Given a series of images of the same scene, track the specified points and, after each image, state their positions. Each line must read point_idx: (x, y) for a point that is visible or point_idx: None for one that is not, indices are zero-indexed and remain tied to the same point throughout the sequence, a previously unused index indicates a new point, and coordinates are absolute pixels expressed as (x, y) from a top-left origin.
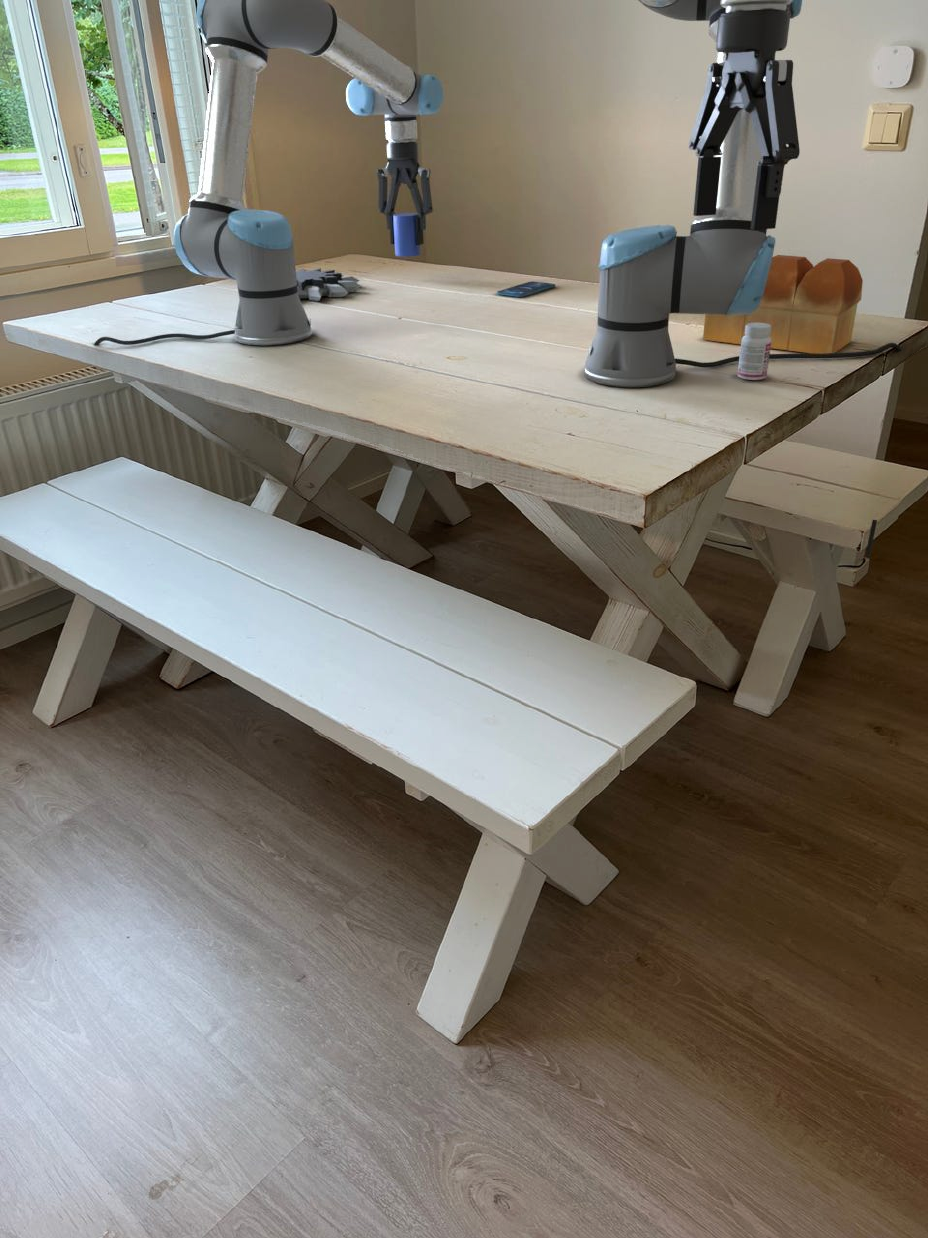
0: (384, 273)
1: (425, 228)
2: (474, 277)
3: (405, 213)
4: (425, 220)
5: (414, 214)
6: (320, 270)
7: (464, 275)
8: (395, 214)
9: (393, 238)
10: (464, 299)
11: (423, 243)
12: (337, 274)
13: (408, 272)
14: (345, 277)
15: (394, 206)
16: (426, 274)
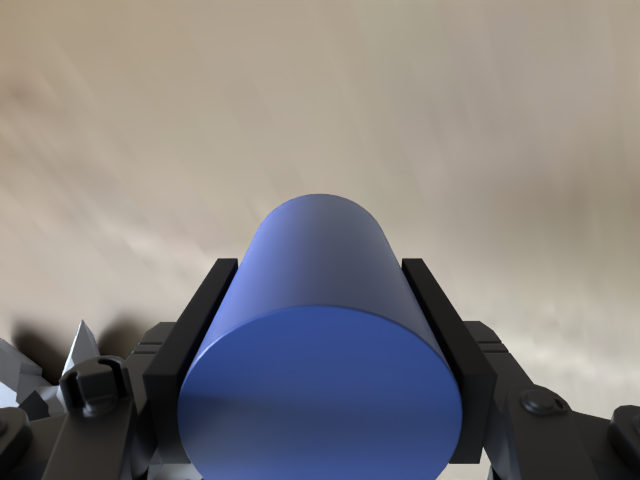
0: (118, 87)
1: (486, 331)
2: (587, 71)
3: (276, 369)
4: (520, 372)
5: (421, 419)
6: (25, 409)
7: (527, 30)
8: (208, 449)
9: None
10: None
11: (421, 260)
12: (157, 469)
13: (215, 26)
14: None
15: (127, 477)
16: (330, 56)
